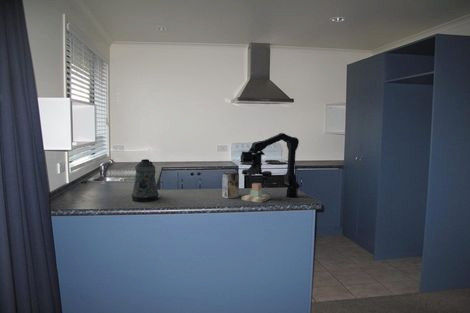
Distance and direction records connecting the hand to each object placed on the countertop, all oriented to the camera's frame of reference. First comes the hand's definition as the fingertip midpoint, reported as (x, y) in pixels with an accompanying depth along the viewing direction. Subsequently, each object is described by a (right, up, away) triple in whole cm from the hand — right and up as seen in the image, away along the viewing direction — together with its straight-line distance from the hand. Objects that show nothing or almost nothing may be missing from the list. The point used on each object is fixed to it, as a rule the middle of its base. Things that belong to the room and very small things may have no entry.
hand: (256, 186), depth 216 cm
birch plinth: (0, -8, +1) cm, 8 cm away
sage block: (0, -6, +1) cm, 6 cm away
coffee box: (-17, -8, +6) cm, 20 cm away
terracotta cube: (0, -3, 0) cm, 3 cm away
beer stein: (-71, -8, -1) cm, 72 cm away
